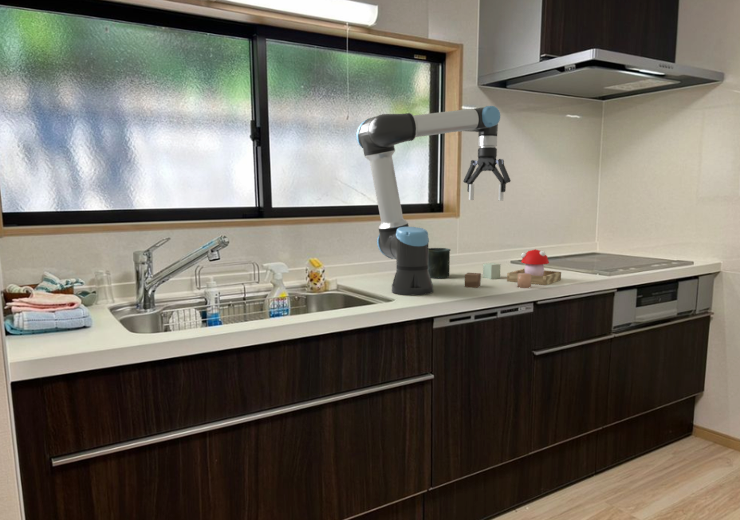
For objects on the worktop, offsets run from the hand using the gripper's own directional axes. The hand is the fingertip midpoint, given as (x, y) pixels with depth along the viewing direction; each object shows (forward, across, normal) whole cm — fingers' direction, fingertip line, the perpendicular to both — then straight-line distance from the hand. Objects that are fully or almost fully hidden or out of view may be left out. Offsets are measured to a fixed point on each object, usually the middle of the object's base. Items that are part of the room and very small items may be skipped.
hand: (485, 200), depth 222 cm
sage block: (+33, -1, -5) cm, 33 cm away
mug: (+33, +20, +6) cm, 39 cm away
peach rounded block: (+33, -21, +6) cm, 40 cm away
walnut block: (+33, -6, +18) cm, 38 cm away
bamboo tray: (+32, -18, -9) cm, 38 cm away
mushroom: (+32, -18, -9) cm, 38 cm away
